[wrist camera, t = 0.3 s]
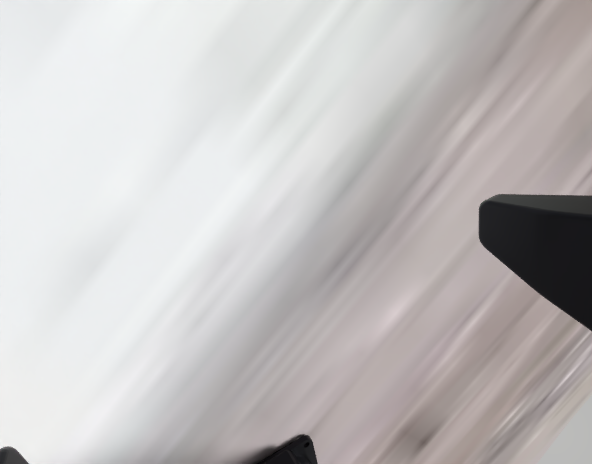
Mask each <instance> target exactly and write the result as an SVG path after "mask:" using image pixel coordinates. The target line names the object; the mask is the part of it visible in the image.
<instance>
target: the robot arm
mask: <svg viewBox="0 0 592 464" xmlns="http://www.w3.org/2000/svg"><path fill="white" fill-rule="evenodd" d="M479 239H480V242H481V243H482V245H483V246H484V247H485V248H486V249H487V250H488V251H489V252H491V253H492V254H493V255H494V256H495V257H496V258H498V259H499V260H500V261H501V262H502V263H504V264H505V265H506V266H507V267H508V268H509V269H511V270H512V271H513V272H514V273H515V274H516V275H518V276H519V277H520V278H521V279H522V280H524V281H525V282H526V283H527V284H528V285H529V286H531V287H532V288H533V289H534V290H536V291H537V292H538V293H539V294H540V295H542V296H543V297H545V298H546V299H547V300H549V301H550V302H551V303H553V304H554V305H556V306H557V307H558V308H560V309H561V310H563V311H564V312H565V313H567V314H568V315H570V316H571V317H572V318H574V319H575V320H577V321H578V322H580V323H581V324H582V325H584V326H585V327H587V328H588V329H589V330H591V331H592V196H577V195H516V194H499V195H495V196H493V197H491V198H489V199H487V200H485V201H483V202H482V203H481V205H480V207H479ZM0 464H29V463H28V462H27V461H26V460H25V459H24V458H23V457H22V455H21V454H20V453H19V452H18V451H17V450H16V449H14V448H13V447H3V448H1V449H0ZM258 464H317V459H316V455H315V450H314V446H313V442H312V440H311V438H310V437H309V436H308V435H306V436H303V437H301V438H300V439H298V440H296V441H295V442H293V443H291V444H290V445H288V446H286V447H285V448H283V449H281V450H280V451H278V452H276V453H274V454H273V455H271V456H269V457H268V458H266V459H264V460H263V461H261V462H259V463H258Z"/></svg>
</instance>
